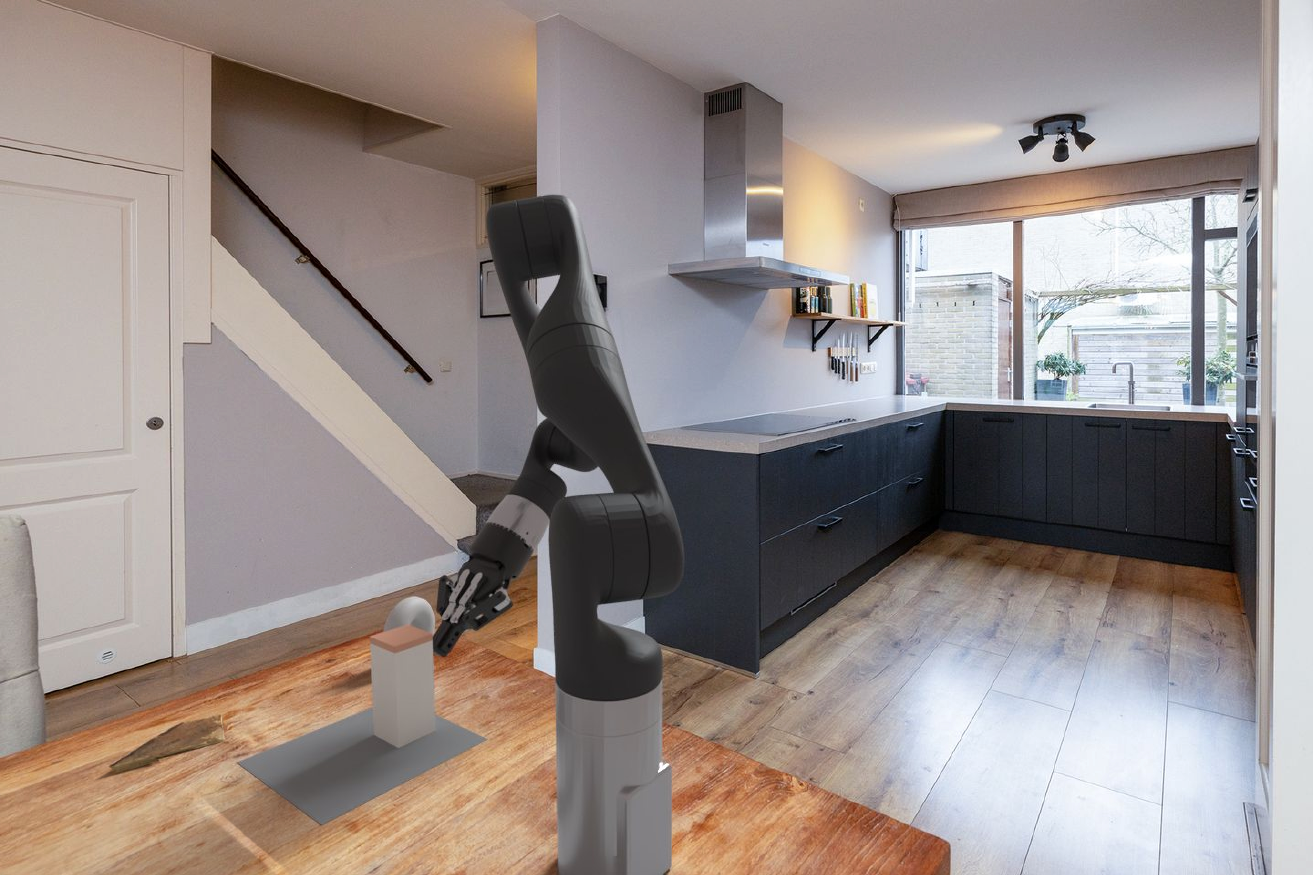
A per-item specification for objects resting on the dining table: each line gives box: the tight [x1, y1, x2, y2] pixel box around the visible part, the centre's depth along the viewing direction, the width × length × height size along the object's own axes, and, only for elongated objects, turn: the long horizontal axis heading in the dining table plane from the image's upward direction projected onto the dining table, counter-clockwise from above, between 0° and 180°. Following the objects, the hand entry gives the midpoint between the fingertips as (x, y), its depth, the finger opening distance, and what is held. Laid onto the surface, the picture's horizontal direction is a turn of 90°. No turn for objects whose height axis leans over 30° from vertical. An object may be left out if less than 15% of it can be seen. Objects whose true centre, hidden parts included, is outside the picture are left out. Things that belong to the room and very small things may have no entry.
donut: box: [382, 595, 436, 635], centre depth 107 cm, size 10×4×10 cm, turn 162°
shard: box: [108, 714, 226, 774], centre depth 85 cm, size 11×8×2 cm
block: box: [369, 624, 436, 748], centre depth 86 cm, size 5×5×12 cm
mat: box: [236, 706, 489, 826], centre depth 83 cm, size 18×20×1 cm
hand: (435, 653), depth 89 cm, fingers closed
